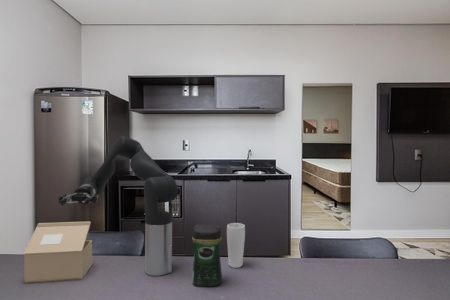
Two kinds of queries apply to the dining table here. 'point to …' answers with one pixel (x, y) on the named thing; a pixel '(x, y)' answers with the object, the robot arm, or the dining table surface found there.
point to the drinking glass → (235, 244)
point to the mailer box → (58, 265)
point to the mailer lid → (58, 238)
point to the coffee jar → (207, 255)
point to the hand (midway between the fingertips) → (74, 202)
